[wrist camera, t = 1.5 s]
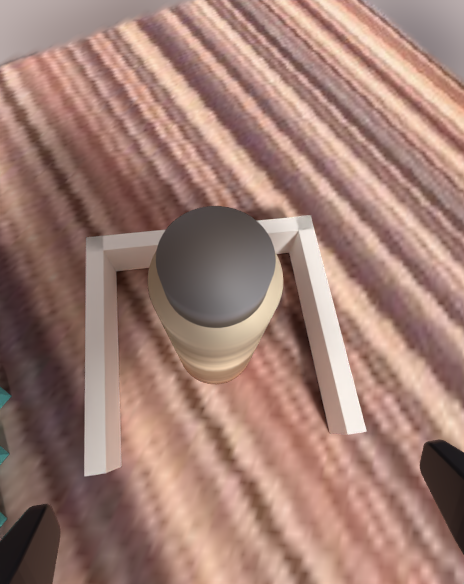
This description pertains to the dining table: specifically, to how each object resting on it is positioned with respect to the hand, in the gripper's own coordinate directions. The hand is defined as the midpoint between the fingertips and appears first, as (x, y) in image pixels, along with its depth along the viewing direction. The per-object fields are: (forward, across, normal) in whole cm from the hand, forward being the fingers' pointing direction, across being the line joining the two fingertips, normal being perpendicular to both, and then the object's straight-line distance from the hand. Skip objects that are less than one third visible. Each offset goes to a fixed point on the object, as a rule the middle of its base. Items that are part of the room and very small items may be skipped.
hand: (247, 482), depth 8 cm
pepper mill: (+13, 0, +5) cm, 14 cm away
